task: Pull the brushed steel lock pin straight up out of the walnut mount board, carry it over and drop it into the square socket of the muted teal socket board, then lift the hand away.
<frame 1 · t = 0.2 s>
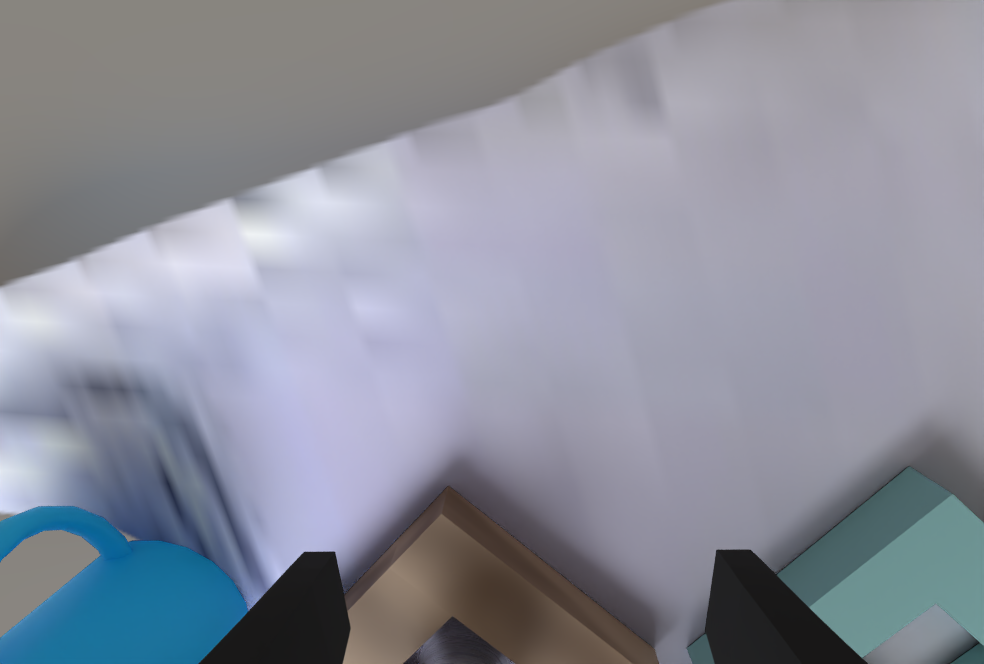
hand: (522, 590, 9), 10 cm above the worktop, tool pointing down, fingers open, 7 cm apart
mount board: (465, 653, 23), on the worktop
socket board: (886, 644, 21), on the worktop
mug: (153, 578, 23), on the worktop
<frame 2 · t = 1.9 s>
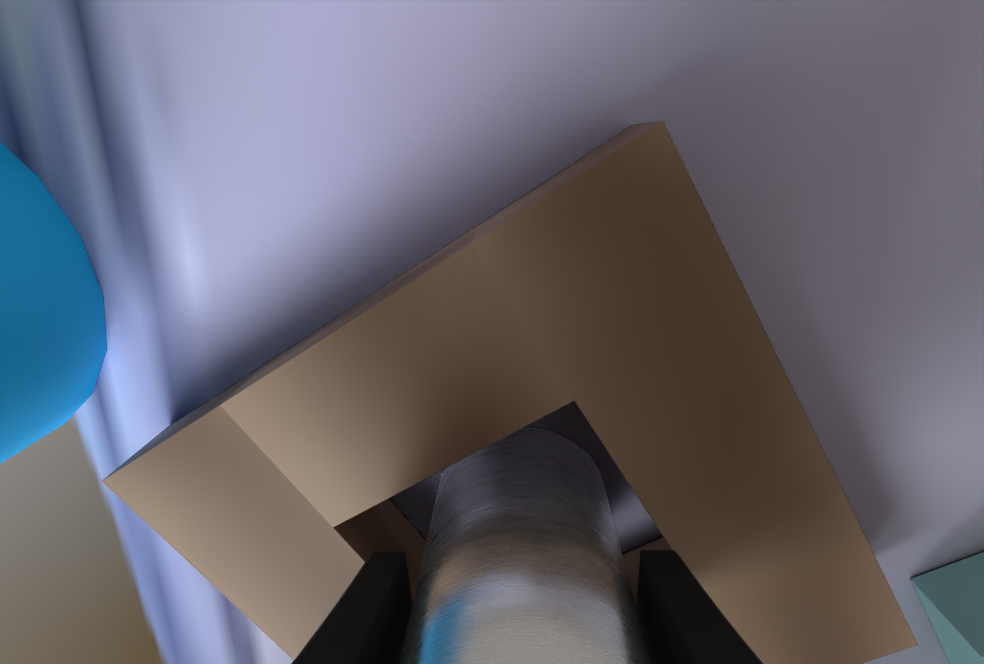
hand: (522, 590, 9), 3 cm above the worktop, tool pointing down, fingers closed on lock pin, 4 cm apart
mount board: (521, 499, 12), on the worktop
lock pin: (524, 660, 8), in the mount board, touching gripper
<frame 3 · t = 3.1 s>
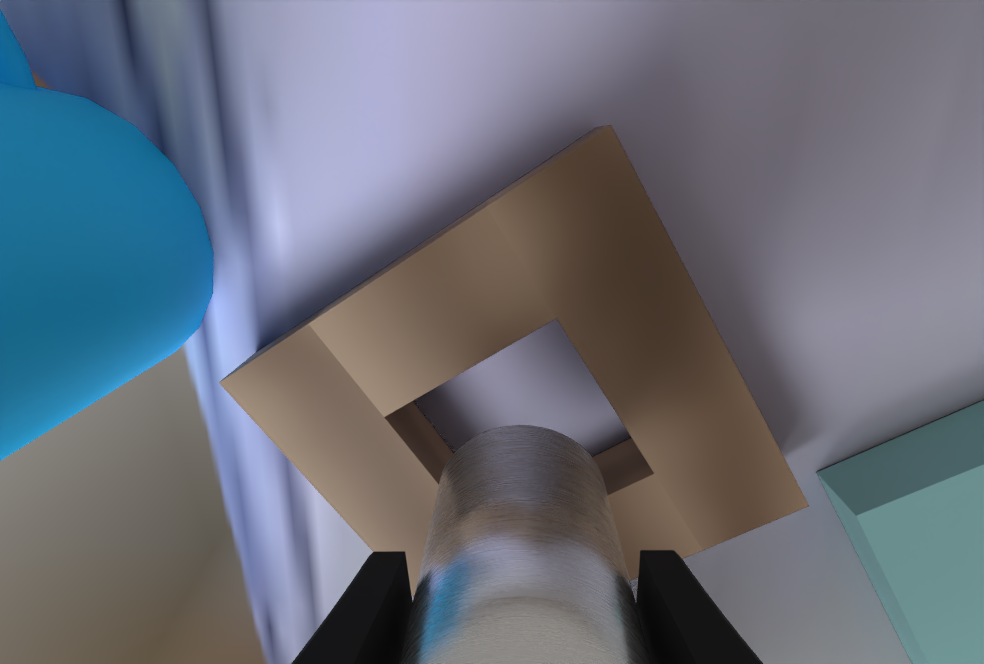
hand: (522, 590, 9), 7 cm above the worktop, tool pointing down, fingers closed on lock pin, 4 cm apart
mount board: (520, 409, 16), on the worktop
mug: (65, 172, 14), on the worktop
lock pin: (524, 658, 8), point 8 cm above the worktop, touching gripper
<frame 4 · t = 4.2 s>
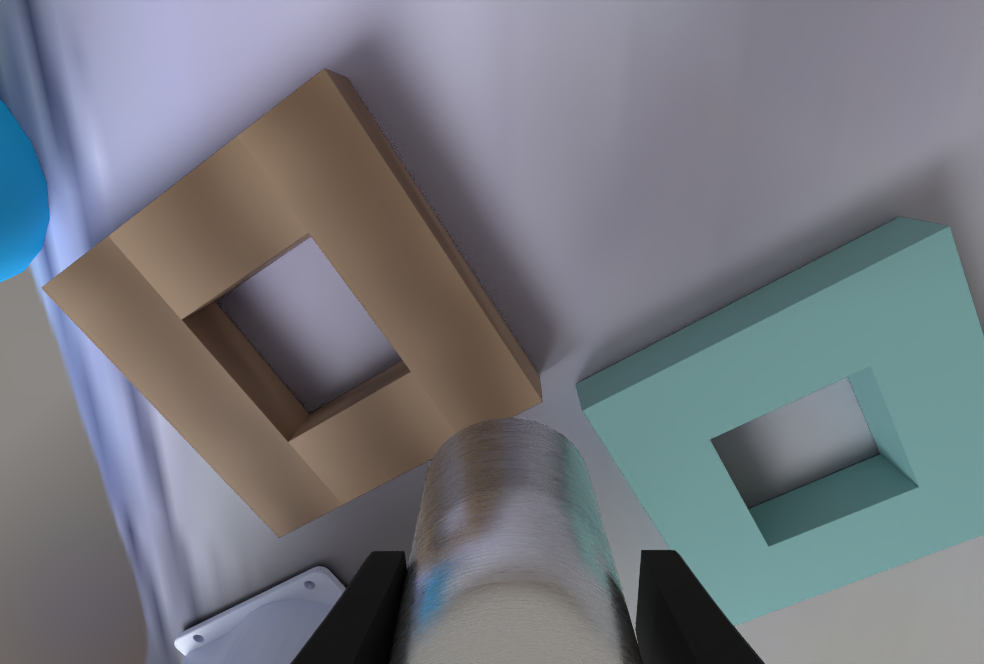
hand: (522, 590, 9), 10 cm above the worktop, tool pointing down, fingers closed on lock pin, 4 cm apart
mount board: (319, 325, 18), on the worktop
socket board: (786, 432, 19), on the worktop
lock pin: (513, 644, 8), point 11 cm above the worktop, touching gripper
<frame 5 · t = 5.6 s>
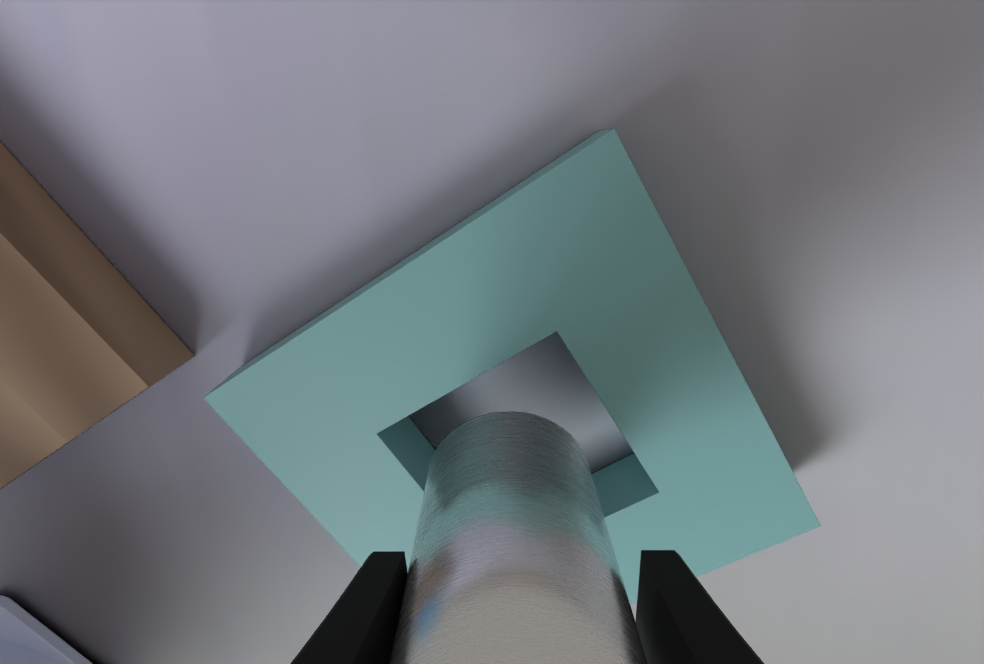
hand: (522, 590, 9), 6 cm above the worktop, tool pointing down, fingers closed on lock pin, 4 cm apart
socket board: (518, 423, 15), on the worktop
lock pin: (515, 632, 8), point 7 cm above the worktop, touching gripper
when the fingers open (4 cm above the worktop, at t = 6.5 s): lock pin stays where it is, resting in socket board.
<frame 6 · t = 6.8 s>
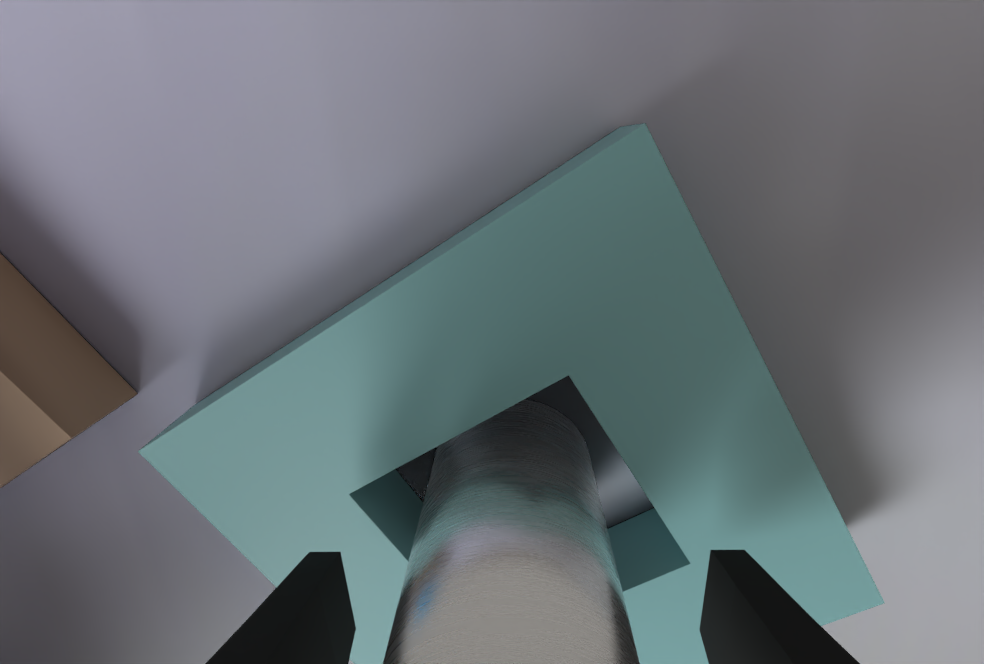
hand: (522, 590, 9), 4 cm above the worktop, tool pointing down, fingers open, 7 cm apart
socket board: (520, 473, 13), on the worktop
lock pin: (511, 600, 9), in the socket board
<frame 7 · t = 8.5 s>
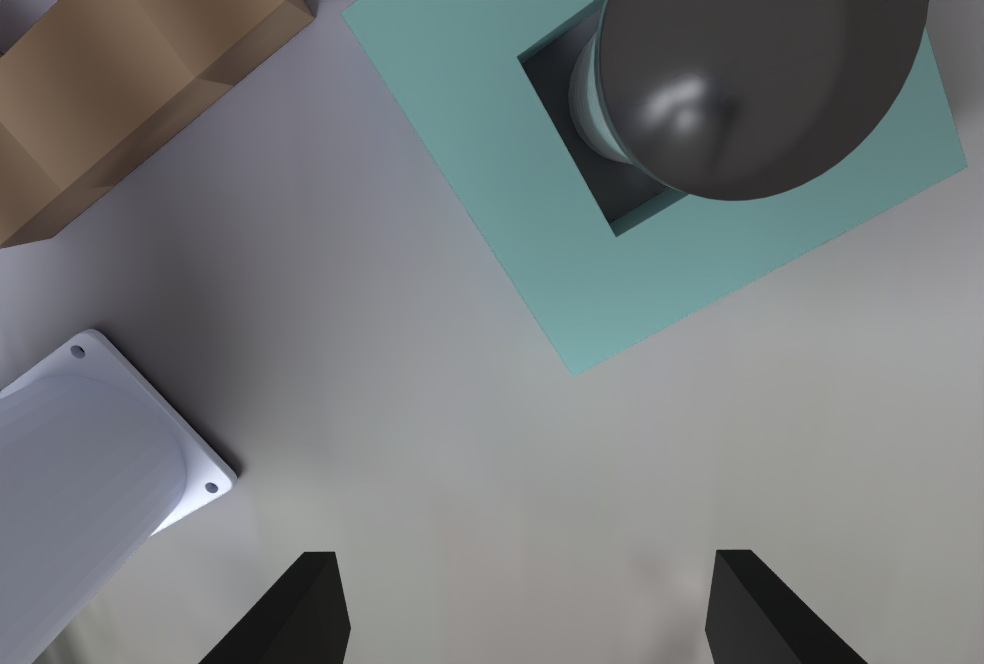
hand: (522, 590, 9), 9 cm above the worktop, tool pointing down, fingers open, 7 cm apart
socket board: (643, 98, 15), on the worktop
lock pin: (676, 74, 11), in the socket board
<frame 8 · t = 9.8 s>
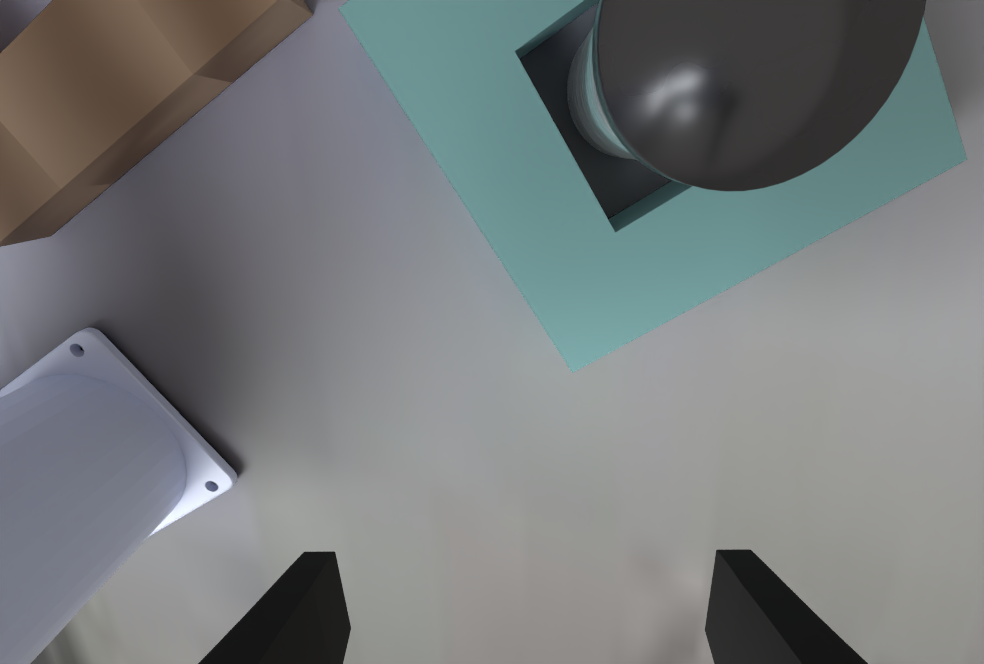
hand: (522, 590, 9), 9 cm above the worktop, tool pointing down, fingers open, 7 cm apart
socket board: (641, 93, 15), on the worktop
lock pin: (675, 67, 11), in the socket board
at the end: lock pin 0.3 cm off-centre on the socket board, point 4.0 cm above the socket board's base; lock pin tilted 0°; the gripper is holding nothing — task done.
